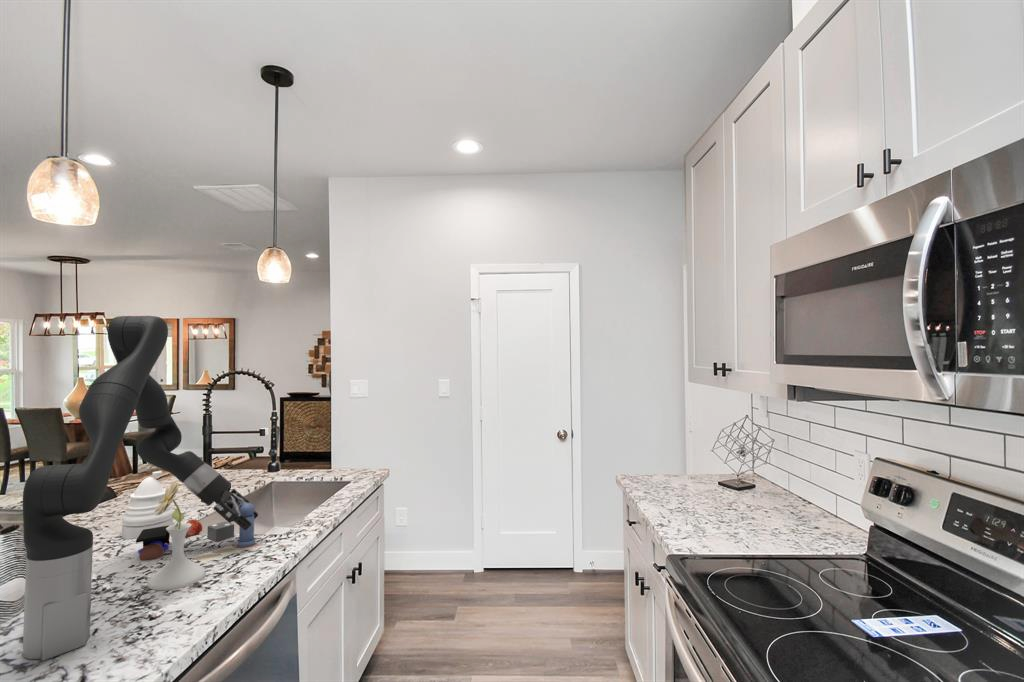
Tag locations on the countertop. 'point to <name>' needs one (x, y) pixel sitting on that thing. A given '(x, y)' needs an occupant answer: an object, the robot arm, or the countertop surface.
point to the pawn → (248, 535)
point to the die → (220, 531)
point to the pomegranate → (194, 528)
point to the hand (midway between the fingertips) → (252, 522)
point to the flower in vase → (175, 551)
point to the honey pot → (145, 508)
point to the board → (222, 551)
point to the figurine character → (153, 542)
